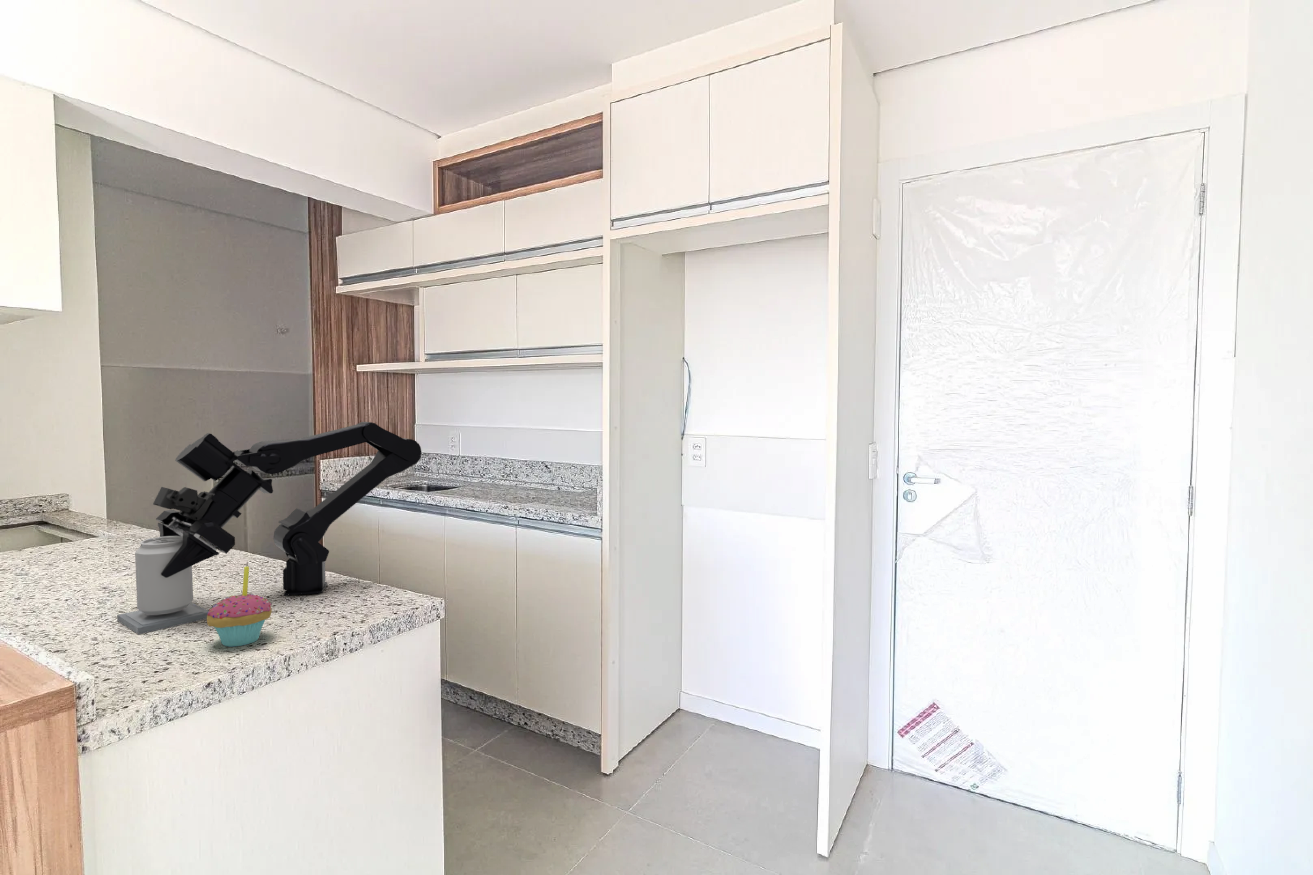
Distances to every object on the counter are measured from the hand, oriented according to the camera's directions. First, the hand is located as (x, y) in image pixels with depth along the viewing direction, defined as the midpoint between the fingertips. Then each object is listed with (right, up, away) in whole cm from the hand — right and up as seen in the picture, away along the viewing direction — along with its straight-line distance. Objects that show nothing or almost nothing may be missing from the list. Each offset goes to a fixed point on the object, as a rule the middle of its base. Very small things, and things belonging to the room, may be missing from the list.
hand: (154, 572), depth 106 cm
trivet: (+1, -8, +1) cm, 8 cm away
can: (+1, -7, +2) cm, 7 cm away
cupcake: (+19, -9, -7) cm, 22 cm away
